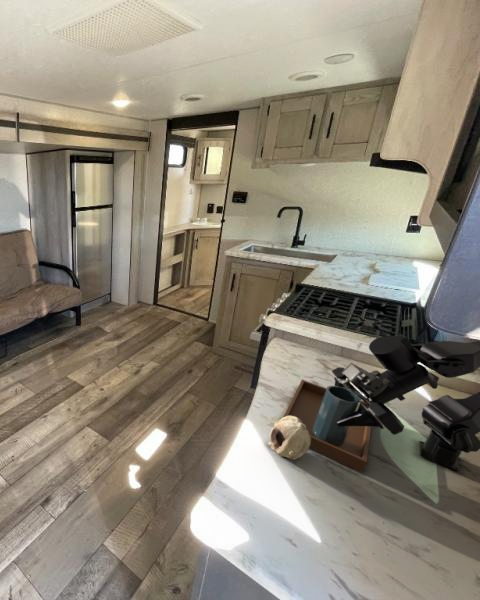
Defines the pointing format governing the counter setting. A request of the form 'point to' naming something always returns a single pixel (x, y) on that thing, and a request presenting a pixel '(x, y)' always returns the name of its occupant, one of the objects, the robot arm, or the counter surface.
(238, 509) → the counter surface
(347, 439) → the tray
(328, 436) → the tumbler
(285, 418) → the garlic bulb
